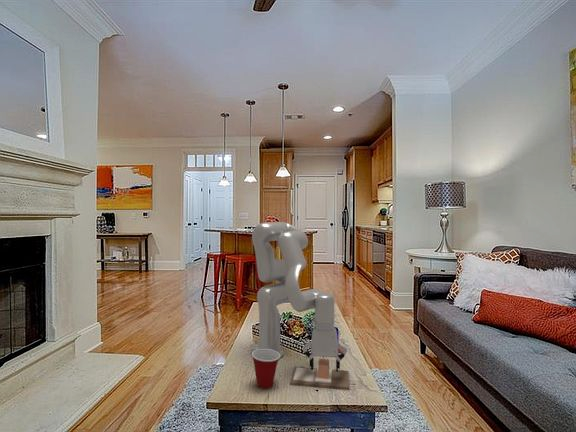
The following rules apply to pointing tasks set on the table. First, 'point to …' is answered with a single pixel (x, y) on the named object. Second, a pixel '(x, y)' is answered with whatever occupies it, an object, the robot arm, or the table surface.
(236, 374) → the table surface
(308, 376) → the board
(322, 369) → the stub
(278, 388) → the table surface
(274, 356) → the plastic cup
